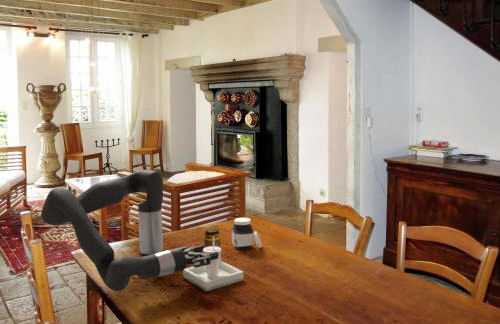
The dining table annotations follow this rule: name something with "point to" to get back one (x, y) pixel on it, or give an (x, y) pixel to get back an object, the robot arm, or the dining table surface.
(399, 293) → the dining table surface
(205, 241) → the condiment
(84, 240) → the robot arm
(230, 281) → the tray
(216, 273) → the smoothie
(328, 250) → the dining table surface
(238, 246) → the spread jar
